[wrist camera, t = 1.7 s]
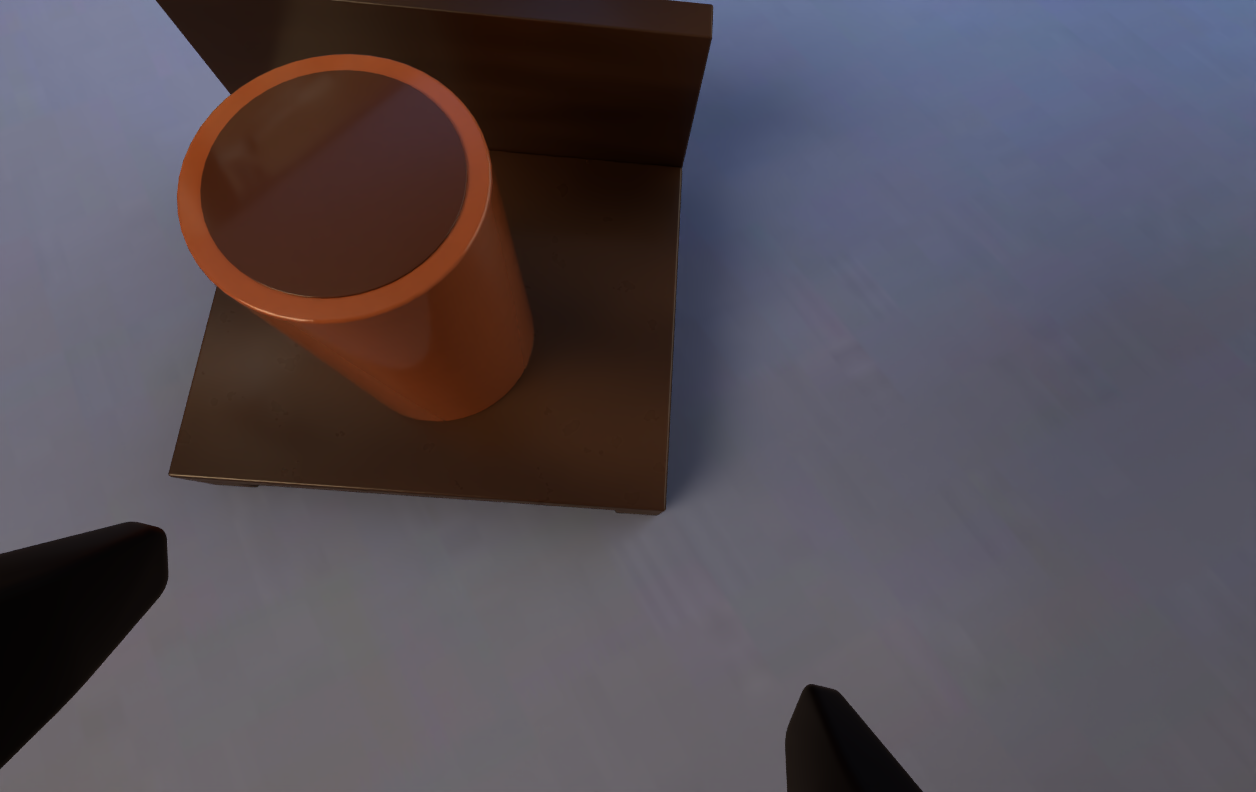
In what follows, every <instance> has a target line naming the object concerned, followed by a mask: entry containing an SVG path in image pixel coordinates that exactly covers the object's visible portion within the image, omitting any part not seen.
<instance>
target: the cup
mask: <svg viewBox="0 0 1256 792" xmlns="http://www.w3.org/2000/svg"><path fill="white" fill-rule="evenodd" d="M177 205H178V216H179V221H180V226H181V230H182V233H183V236H184V239H185V241H186V244H187V246H188V249H189V251H190V253H191V254H192V256H193V258H194V259H195V261H196V263H197V264H198V266H199V267H200V269H201V270H202V271H203V272H204V273H205V275H206V276H207V277H208V278H209V279H210V281H212V282H213V283H214V284H215V285H216V286H217V287H218V288H219V289H220V290H222V291H223V292H224V293H225V294H226V295H228V296H229V297H231V298H232V299H234V300H235V301H236V302H238V303H239V304H241V305H242V306H244V307H245V308H246V309H248V310H249V311H251V312H252V313H254V314H255V315H256V316H258V317H259V318H261V319H262V320H264V321H265V322H267V323H268V324H269V325H271V326H272V327H274V328H275V329H277V330H278V331H279V332H281V333H282V334H284V335H285V336H287V337H288V338H289V339H291V340H292V341H294V342H295V343H297V344H298V345H299V346H301V347H302V348H304V349H305V350H307V351H308V352H309V353H311V354H312V355H314V356H315V357H317V358H318V359H319V360H321V361H322V362H324V363H325V364H327V365H328V366H329V367H331V368H332V369H334V370H335V371H337V372H338V373H339V374H341V375H342V376H344V377H345V378H347V379H348V380H349V381H351V382H352V383H354V384H355V385H357V386H358V387H360V388H361V389H362V390H364V391H365V392H367V393H368V394H370V395H371V396H372V397H374V398H375V399H377V400H378V401H380V402H381V403H382V404H384V405H385V406H387V407H388V408H390V409H392V410H394V411H396V412H398V413H400V414H402V415H405V416H408V417H411V418H414V419H419V420H425V421H450V420H456V419H461V418H465V417H468V416H471V415H474V414H476V413H478V412H480V411H482V410H485V409H487V408H488V407H490V406H491V405H493V404H494V403H496V402H497V401H498V400H500V399H501V398H502V397H503V396H505V395H506V394H507V393H508V392H509V391H510V389H511V388H512V387H513V386H514V385H515V384H516V382H517V381H518V379H519V378H520V377H521V375H522V373H523V371H524V370H525V368H526V366H527V363H528V361H529V358H530V355H531V351H532V347H533V339H534V324H533V318H532V312H531V308H530V305H529V301H528V297H527V293H526V289H525V286H524V282H523V278H522V274H521V270H520V266H519V263H518V259H517V255H516V251H515V247H514V244H513V240H512V236H511V232H510V228H509V224H508V221H507V217H506V213H505V209H504V205H503V202H502V198H501V194H500V190H499V186H498V183H497V179H496V175H495V171H494V167H493V163H492V160H491V156H490V152H489V149H488V146H487V143H486V140H485V137H484V134H483V132H482V130H481V128H480V127H479V125H478V123H477V121H476V119H475V118H474V116H473V115H472V114H471V112H470V111H469V109H468V108H467V107H466V105H465V104H464V103H463V102H462V101H461V100H460V99H459V98H458V97H457V96H456V95H455V94H454V93H453V92H452V91H451V90H449V89H448V88H447V87H446V86H444V85H443V84H442V83H440V82H439V81H438V80H436V79H434V78H433V77H431V76H429V75H428V74H426V73H424V72H423V71H420V70H418V69H416V68H414V67H411V66H409V65H407V64H404V63H401V62H397V61H394V60H391V59H387V58H381V57H376V56H371V55H359V54H332V55H324V56H317V57H311V58H307V59H302V60H298V61H294V62H291V63H288V64H285V65H283V66H280V67H277V68H274V69H272V70H270V71H268V72H266V73H264V74H262V75H260V76H258V77H256V78H254V79H253V80H251V81H250V82H248V83H246V84H245V85H243V86H241V87H240V88H239V89H237V90H236V91H235V92H234V93H232V94H231V95H230V96H229V97H227V98H226V99H225V100H224V101H223V102H222V103H221V104H220V105H219V106H218V107H217V108H216V109H215V110H214V111H213V112H212V113H211V114H210V116H209V117H208V118H207V119H206V121H205V122H204V123H203V124H202V126H201V127H200V129H199V130H198V132H197V134H196V135H195V137H194V139H193V140H192V142H191V144H190V146H189V149H188V151H187V153H186V156H185V158H184V160H183V164H182V168H181V172H180V176H179V182H178V191H177Z"/></svg>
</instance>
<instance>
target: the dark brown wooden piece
mask: <svg viewBox="0 0 1256 792" xmlns="http://www.w3.org/2000/svg"><path fill="white" fill-rule="evenodd" d="M156 1H157V2H158V4H159V5H160V6H161V7H162V9H163V10H164V11H165V12H166V14H167V15H168V16H169V17H170V19H171V20H172V21H173V23H174V24H175V25H176V26H177V28H178V29H179V30H180V31H181V33H182V34H183V35H184V36H185V38H186V39H187V40H188V41H189V43H190V44H191V45H192V46H193V48H194V49H195V50H196V51H197V53H198V54H199V55H200V56H201V58H202V59H203V60H204V61H205V63H206V64H207V65H208V67H209V68H210V69H211V70H212V72H213V73H214V74H215V75H216V77H217V78H218V79H219V80H220V82H221V83H222V84H223V85H224V87H225V88H226V89H227V90H228V92H229V93H230V94H232V93H234V92H235V91H236V90H237V89H239V88H240V87H241V86H243V85H245V84H246V83H248V82H250V81H251V80H253V79H254V78H256V77H258V76H260V75H262V74H264V73H266V72H268V71H270V70H272V69H274V68H277V67H280V66H283V65H285V64H288V63H291V62H294V61H298V60H302V59H307V58H311V57H317V56H324V55H332V54H359V55H371V56H376V57H381V58H387V59H391V60H394V61H397V62H401V63H404V64H407V65H409V66H411V67H414V68H416V69H418V70H420V71H423V72H424V73H426V74H428V75H429V76H431V77H433V78H434V79H436V80H438V81H439V82H440V83H442V84H443V85H444V86H446V87H447V88H448V89H449V90H451V91H452V92H453V93H454V94H455V95H456V96H457V97H458V98H459V99H460V100H461V101H462V102H463V103H464V104H465V105H466V107H467V108H468V109H469V111H470V112H471V114H472V115H473V116H474V118H475V119H476V121H477V123H478V125H479V127H480V128H481V130H482V132H483V134H484V137H485V140H486V143H487V146H488V149H489V152H490V156H491V160H492V163H493V167H494V171H495V175H496V179H497V183H498V186H499V190H500V194H501V198H502V202H503V205H504V209H505V213H506V217H507V221H508V224H509V228H510V232H511V236H512V240H513V244H514V247H515V251H516V255H517V259H518V263H519V266H520V270H521V274H522V278H523V282H524V286H525V289H526V293H527V297H528V301H529V305H530V308H531V312H532V318H533V324H534V339H533V347H532V351H531V355H530V358H529V361H528V363H527V366H526V368H525V370H524V371H523V373H522V375H521V377H520V378H519V379H518V381H517V382H516V384H515V385H514V386H513V387H512V388H511V389H510V391H509V392H508V393H507V394H506V395H505V396H503V397H502V398H501V399H500V400H498V401H497V402H496V403H494V404H493V405H491V406H490V407H488V408H487V409H485V410H482V411H480V412H478V413H476V414H474V415H471V416H468V417H465V418H461V419H456V420H450V421H425V420H419V419H414V418H411V417H408V416H405V415H402V414H400V413H398V412H396V411H394V410H392V409H390V408H388V407H387V406H385V405H384V404H382V403H381V402H380V401H378V400H377V399H375V398H374V397H372V396H371V395H370V394H368V393H367V392H365V391H364V390H362V389H361V388H360V387H358V386H357V385H355V384H354V383H352V382H351V381H349V380H348V379H347V378H345V377H344V376H342V375H341V374H339V373H338V372H337V371H335V370H334V369H332V368H331V367H329V366H328V365H327V364H325V363H324V362H322V361H321V360H319V359H318V358H317V357H315V356H314V355H312V354H311V353H309V352H308V351H307V350H305V349H304V348H302V347H301V346H299V345H298V344H297V343H295V342H294V341H292V340H291V339H289V338H288V337H287V336H285V335H284V334H282V333H281V332H279V331H278V330H277V329H275V328H274V327H272V326H271V325H269V324H268V323H267V322H265V321H264V320H262V319H261V318H259V317H258V316H256V315H255V314H254V313H252V312H251V311H249V310H248V309H246V308H245V307H244V306H242V305H241V304H239V303H238V302H236V301H235V300H234V299H232V298H231V297H229V296H228V295H226V294H225V293H224V292H223V291H222V290H220V289H219V288H218V287H216V291H215V295H214V299H213V303H212V307H211V311H210V314H209V318H208V322H207V326H206V330H205V334H204V338H203V342H202V345H201V349H200V353H199V357H198V361H197V365H196V369H195V373H194V377H193V380H192V384H191V388H190V392H189V396H188V400H187V404H186V408H185V411H184V415H183V419H182V423H181V427H180V431H179V435H178V439H177V442H176V446H175V450H174V454H173V458H172V462H171V466H170V470H169V473H168V474H169V476H171V477H175V478H180V479H186V480H192V481H197V482H203V483H209V484H214V485H228V486H242V487H258V486H259V485H263V486H278V487H292V488H306V489H320V490H335V491H349V492H363V493H377V494H392V495H406V496H420V497H434V498H449V499H463V500H477V501H491V502H506V503H520V504H534V505H549V506H563V507H577V508H591V509H606V510H615V512H616V513H627V514H642V515H659V514H660V513H662V512H663V511H665V509H666V494H667V474H668V453H669V433H670V412H671V392H672V371H673V351H674V330H675V310H676V289H677V269H678V248H679V228H680V207H681V187H682V167H683V162H684V158H685V154H686V149H687V145H688V140H689V136H690V132H691V127H692V123H693V119H694V114H695V110H696V106H697V101H698V97H699V92H700V88H701V84H702V79H703V75H704V71H705V66H706V62H707V58H708V53H709V49H710V44H711V40H712V27H713V5H711V4H701V3H691V2H681V1H671V0H156Z"/></svg>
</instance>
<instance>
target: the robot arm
mask: <svg viewBox="0 0 1256 792" xmlns="http://www.w3.org/2000/svg"><path fill="white" fill-rule="evenodd" d="M167 581H168V555H167V537H166V534H165V532H164V531H163V530H162V529H160V528H159V527H155V526H151V525H147V524H143V523H139V522H125V523H121V524H117V525H113V526H109V527H105V528H101V529H97V530H93V531H89V532H85V533H82V534H78V535H74V536H70V537H66V538H62V539H58V540H54V541H50V542H46V543H42V544H38V545H34V546H30V547H26V548H22V549H18V550H14V551H10V552H6V553H2V554H0V769H1V768H2V767H3V766H4V765H5V764H6V763H7V762H8V761H9V760H10V759H11V758H12V757H13V756H14V755H15V754H16V753H17V752H18V751H19V750H20V749H21V748H22V747H23V746H24V745H25V744H26V743H27V742H28V741H29V740H30V739H31V738H32V737H33V736H34V735H35V734H36V733H37V732H38V731H39V730H40V729H41V728H42V727H43V726H44V725H45V724H46V723H47V722H48V721H49V720H50V719H52V718H53V717H54V716H55V715H56V714H57V713H58V711H59V710H60V709H61V708H62V707H63V706H64V705H65V704H66V703H67V702H68V701H69V700H70V699H71V698H72V697H73V696H74V695H75V694H76V693H77V692H78V690H79V689H80V688H81V687H82V686H83V685H84V684H85V683H86V682H87V681H88V679H89V678H90V677H91V676H92V675H93V674H94V673H95V671H96V670H97V669H98V668H99V667H100V666H101V664H102V663H103V662H104V661H105V660H106V659H107V657H108V656H109V655H110V654H111V653H112V652H113V650H114V649H115V648H116V647H117V646H118V645H119V643H120V642H121V641H122V640H123V639H124V638H125V637H126V635H127V634H128V633H129V632H130V631H131V630H132V628H133V627H134V626H135V625H136V624H137V623H138V621H139V620H140V619H141V618H142V617H143V616H144V614H145V613H146V612H147V611H148V610H149V609H150V607H151V606H152V605H153V604H154V603H155V602H156V600H157V599H158V598H159V597H160V596H161V594H162V593H163V591H164V589H165V587H166V585H167ZM785 754H786V775H787V792H923V791H922V790H921V789H920V788H919V787H918V785H917V784H916V783H915V782H914V781H913V779H912V778H911V777H910V776H909V775H908V773H907V772H906V771H905V770H904V769H903V767H902V766H901V765H900V764H899V763H898V761H897V760H896V759H895V758H894V757H893V755H892V754H891V753H890V752H889V751H888V749H887V748H886V747H885V746H884V745H883V744H882V742H881V741H880V740H879V739H878V738H877V736H876V735H875V734H874V733H873V732H872V730H871V729H870V728H869V727H868V726H867V724H866V723H865V722H864V721H863V720H862V718H861V717H860V716H859V715H858V714H857V712H856V711H855V710H854V709H853V708H852V707H851V705H850V704H849V703H848V702H847V701H846V699H845V698H844V697H843V696H842V695H841V694H840V693H839V692H838V691H837V690H834V689H831V688H827V687H823V686H818V685H814V684H809V685H807V686H806V687H805V688H804V689H803V691H802V693H801V696H800V698H799V701H798V703H797V705H796V708H795V710H794V713H793V715H792V718H791V720H790V722H789V725H788V728H787V732H786V738H785Z"/></svg>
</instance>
